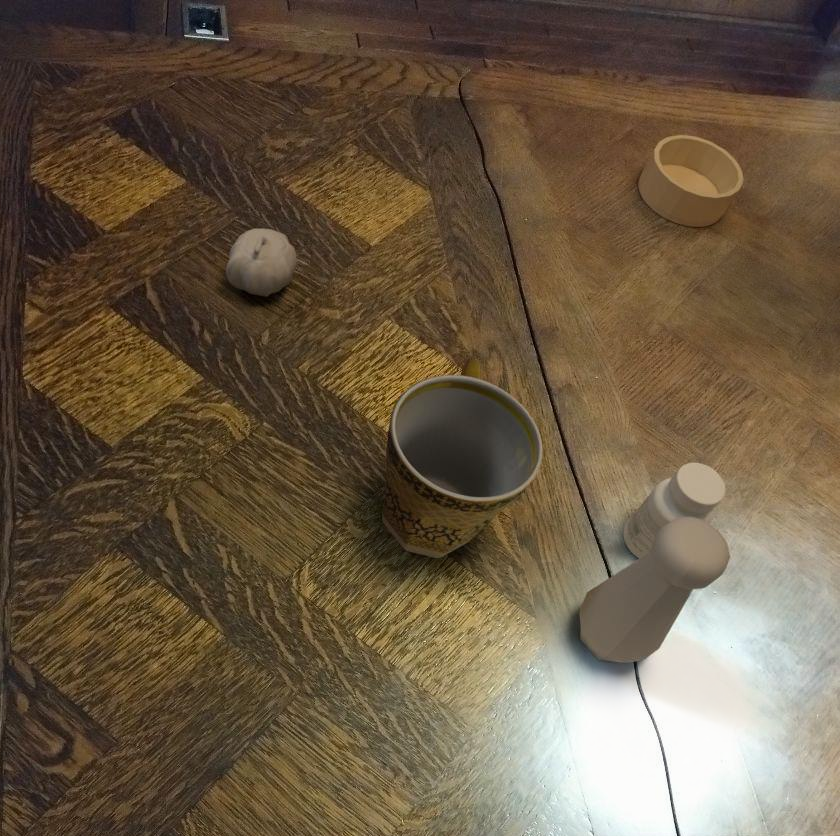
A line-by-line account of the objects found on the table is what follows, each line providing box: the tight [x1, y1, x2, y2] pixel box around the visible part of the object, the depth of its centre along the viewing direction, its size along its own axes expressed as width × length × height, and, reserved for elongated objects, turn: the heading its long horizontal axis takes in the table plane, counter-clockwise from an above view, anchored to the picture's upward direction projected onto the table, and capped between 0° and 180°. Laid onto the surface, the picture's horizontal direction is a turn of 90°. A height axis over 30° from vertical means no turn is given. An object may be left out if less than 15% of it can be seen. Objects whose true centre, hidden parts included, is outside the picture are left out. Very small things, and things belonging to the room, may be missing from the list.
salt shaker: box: [578, 516, 731, 664], centre depth 63 cm, size 6×6×13 cm
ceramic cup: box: [381, 357, 543, 559], centre depth 68 cm, size 13×10×10 cm
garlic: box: [225, 227, 297, 297], centre depth 78 cm, size 6×5×5 cm
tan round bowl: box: [637, 134, 744, 228], centre depth 93 cm, size 9×9×4 cm
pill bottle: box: [623, 462, 726, 560], centre depth 70 cm, size 4×4×8 cm
